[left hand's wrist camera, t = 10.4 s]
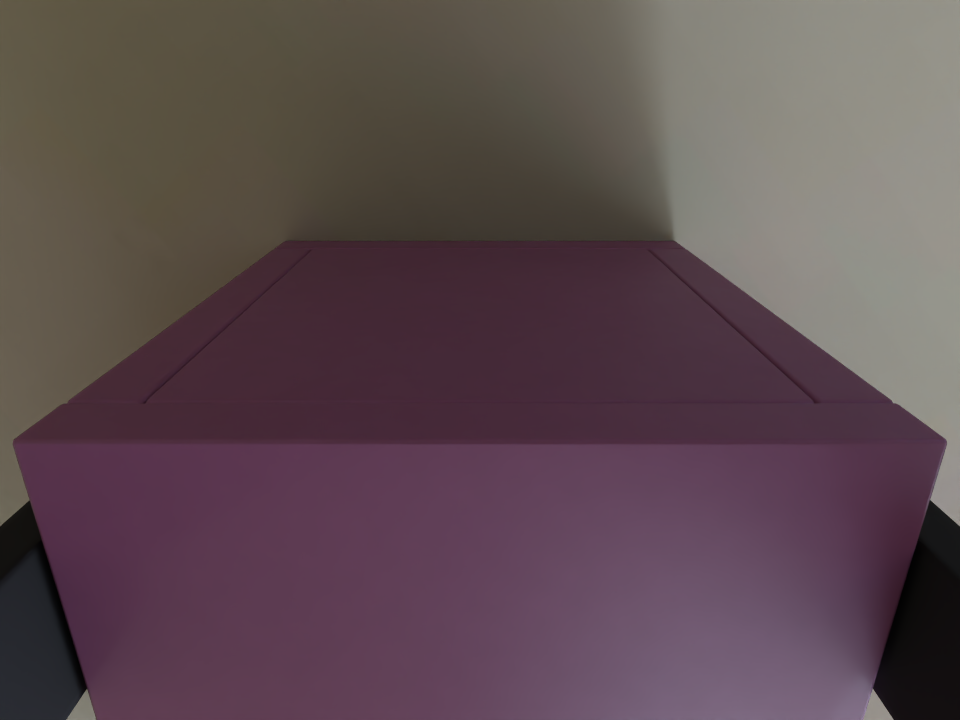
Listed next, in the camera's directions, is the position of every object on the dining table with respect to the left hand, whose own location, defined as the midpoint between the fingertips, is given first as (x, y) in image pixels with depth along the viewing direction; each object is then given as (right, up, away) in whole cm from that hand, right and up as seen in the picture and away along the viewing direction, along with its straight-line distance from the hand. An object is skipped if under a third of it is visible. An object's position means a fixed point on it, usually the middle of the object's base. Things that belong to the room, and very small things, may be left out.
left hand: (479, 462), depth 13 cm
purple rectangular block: (0, -4, +10) cm, 11 cm away
